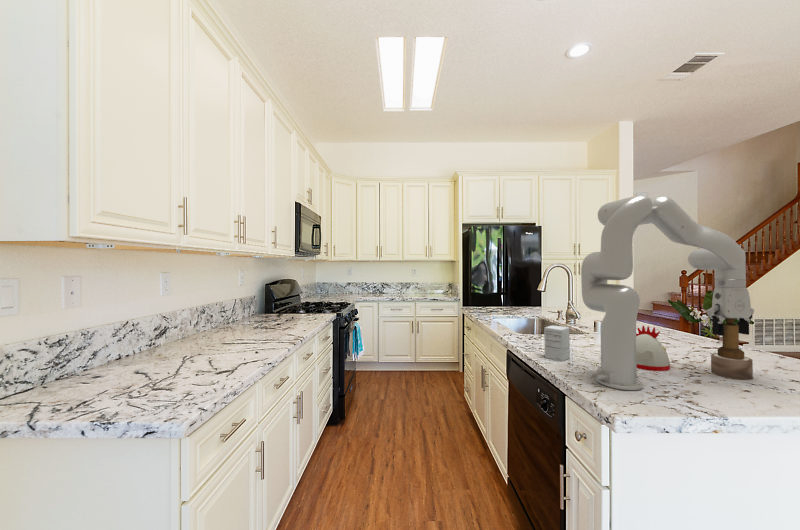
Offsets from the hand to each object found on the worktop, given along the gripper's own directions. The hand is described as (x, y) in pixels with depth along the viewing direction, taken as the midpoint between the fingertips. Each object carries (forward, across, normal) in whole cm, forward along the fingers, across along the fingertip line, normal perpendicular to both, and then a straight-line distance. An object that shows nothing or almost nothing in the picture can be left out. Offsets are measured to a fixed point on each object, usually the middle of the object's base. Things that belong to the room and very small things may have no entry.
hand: (730, 334), depth 112 cm
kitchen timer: (+14, -19, +14) cm, 27 cm away
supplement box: (+14, -46, +28) cm, 56 cm away
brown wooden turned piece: (+8, 0, 0) cm, 8 cm away
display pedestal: (+14, 0, 0) cm, 14 cm away
